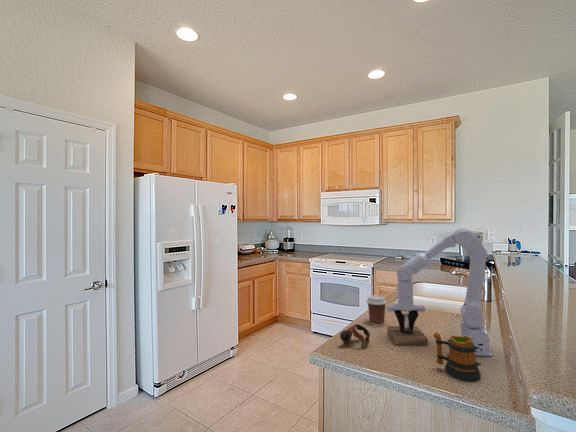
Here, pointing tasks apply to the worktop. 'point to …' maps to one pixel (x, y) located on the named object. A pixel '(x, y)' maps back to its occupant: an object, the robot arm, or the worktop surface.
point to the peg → (406, 323)
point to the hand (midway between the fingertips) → (406, 329)
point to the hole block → (407, 336)
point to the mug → (459, 358)
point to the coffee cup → (376, 309)
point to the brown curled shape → (347, 335)
